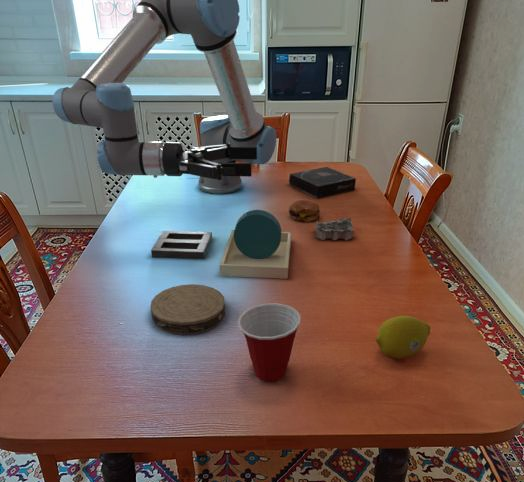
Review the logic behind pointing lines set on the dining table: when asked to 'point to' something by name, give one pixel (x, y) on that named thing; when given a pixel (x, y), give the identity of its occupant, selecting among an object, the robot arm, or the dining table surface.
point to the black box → (322, 182)
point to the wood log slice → (188, 309)
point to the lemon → (402, 336)
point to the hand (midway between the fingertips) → (254, 161)
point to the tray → (256, 261)
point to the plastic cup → (270, 338)
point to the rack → (182, 245)
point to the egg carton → (335, 229)
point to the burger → (304, 210)
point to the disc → (257, 234)
